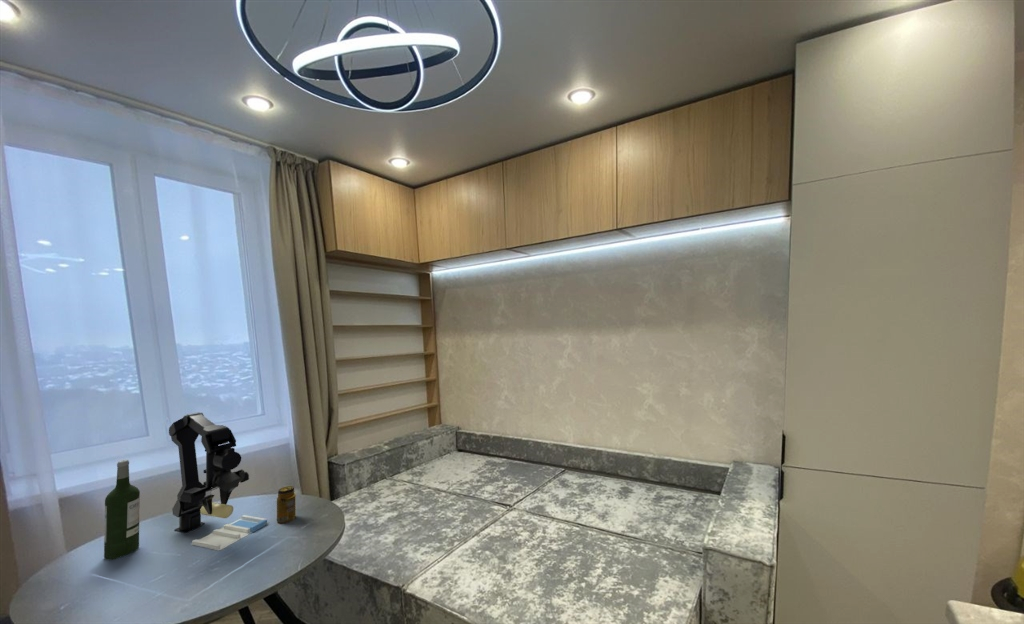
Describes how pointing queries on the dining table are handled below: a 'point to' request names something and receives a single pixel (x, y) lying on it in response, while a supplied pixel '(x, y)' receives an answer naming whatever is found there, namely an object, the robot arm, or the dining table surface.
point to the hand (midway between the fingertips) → (216, 511)
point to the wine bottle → (121, 516)
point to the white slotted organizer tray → (230, 533)
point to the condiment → (286, 505)
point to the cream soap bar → (218, 510)
